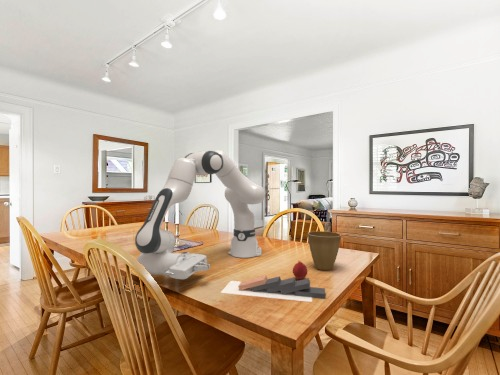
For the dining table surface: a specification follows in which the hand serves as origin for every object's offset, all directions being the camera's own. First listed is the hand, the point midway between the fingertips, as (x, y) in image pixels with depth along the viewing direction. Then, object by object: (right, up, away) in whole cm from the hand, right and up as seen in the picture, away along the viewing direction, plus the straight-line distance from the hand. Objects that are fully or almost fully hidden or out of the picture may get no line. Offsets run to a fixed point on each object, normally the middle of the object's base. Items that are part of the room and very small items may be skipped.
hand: (208, 267), depth 102 cm
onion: (+36, -7, +6) cm, 37 cm away
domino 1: (+17, -6, -4) cm, 19 cm away
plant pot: (+50, -7, +21) cm, 55 cm away
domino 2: (+23, -6, -5) cm, 24 cm away
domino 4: (+32, -6, -8) cm, 34 cm away
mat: (+22, -7, -5) cm, 24 cm away
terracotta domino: (+13, -6, -3) cm, 14 cm away
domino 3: (+28, -6, -7) cm, 29 cm away
